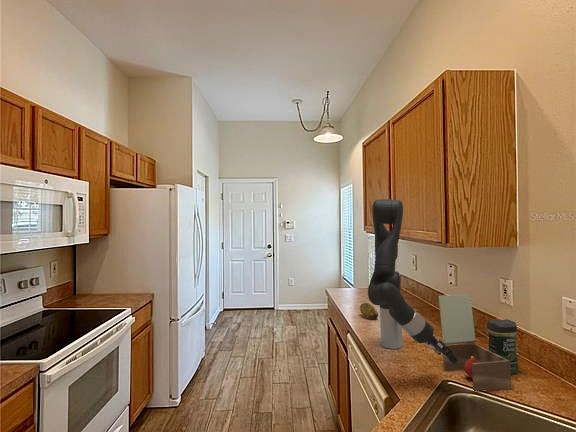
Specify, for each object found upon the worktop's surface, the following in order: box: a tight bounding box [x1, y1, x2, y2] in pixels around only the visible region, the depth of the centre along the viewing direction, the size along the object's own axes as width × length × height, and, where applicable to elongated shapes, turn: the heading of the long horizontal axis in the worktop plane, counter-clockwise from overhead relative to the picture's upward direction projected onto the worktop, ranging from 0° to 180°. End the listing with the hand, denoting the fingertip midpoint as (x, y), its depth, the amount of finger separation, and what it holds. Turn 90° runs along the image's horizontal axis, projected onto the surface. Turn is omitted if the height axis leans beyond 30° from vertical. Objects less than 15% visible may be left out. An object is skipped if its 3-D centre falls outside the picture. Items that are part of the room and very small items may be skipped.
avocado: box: [359, 302, 379, 320], centre depth 209 cm, size 8×13×8 cm, turn 4°
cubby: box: [442, 342, 512, 392], centre depth 126 cm, size 18×13×9 cm
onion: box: [464, 356, 480, 380], centre depth 126 cm, size 6×6×8 cm
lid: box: [438, 293, 477, 346], centre depth 136 cm, size 18×13×1 cm
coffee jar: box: [486, 318, 520, 375], centre depth 132 cm, size 10×8×19 cm
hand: (448, 357), depth 125 cm, fingers open, 8 cm apart
